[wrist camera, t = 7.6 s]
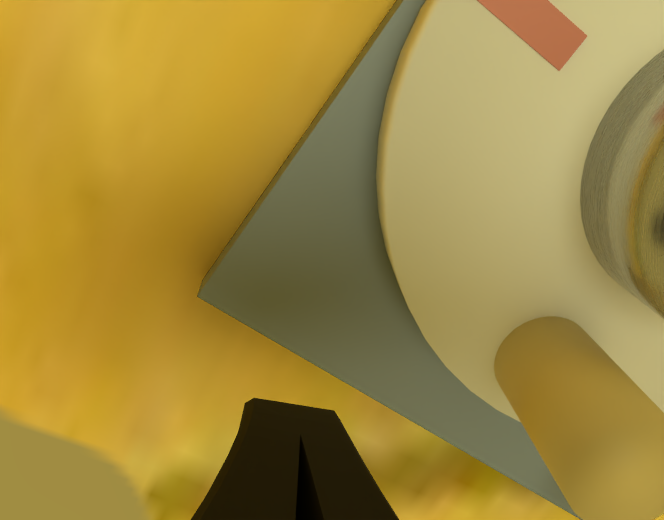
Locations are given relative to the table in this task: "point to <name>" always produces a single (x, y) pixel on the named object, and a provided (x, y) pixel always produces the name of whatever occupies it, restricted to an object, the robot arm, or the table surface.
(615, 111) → the cover
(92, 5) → the table surface
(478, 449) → the base plate
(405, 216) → the turntable
